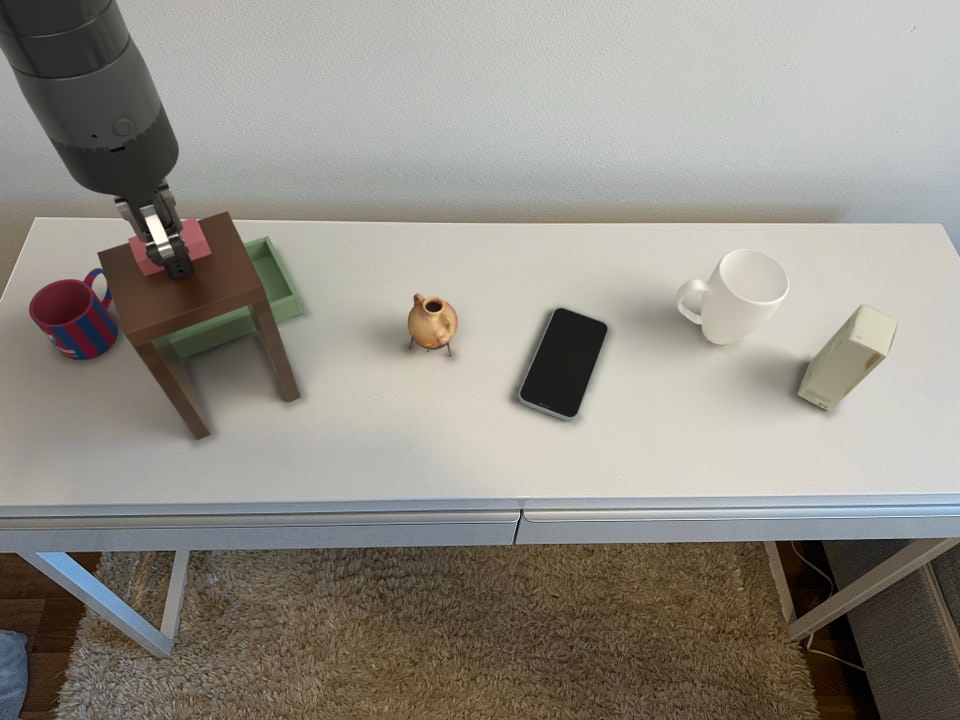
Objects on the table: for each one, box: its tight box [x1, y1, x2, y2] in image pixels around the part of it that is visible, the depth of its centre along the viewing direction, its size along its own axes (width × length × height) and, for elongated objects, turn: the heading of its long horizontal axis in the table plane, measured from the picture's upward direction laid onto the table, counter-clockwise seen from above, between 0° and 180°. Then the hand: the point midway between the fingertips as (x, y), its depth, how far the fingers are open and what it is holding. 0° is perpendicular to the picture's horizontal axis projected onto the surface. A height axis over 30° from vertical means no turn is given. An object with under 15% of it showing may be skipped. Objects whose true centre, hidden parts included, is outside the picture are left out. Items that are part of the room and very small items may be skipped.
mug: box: [674, 248, 790, 346], centre depth 82 cm, size 12×8×11 cm
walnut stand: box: [96, 210, 302, 441], centre depth 69 cm, size 12×10×21 cm
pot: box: [407, 293, 459, 358], centre depth 80 cm, size 6×8×6 cm
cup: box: [28, 267, 118, 361], centre depth 78 cm, size 7×10×7 cm
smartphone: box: [517, 306, 610, 422], centre depth 82 cm, size 7×1×15 cm
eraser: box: [127, 216, 211, 276], centre depth 61 cm, size 6×3×2 cm, turn 119°
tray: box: [166, 235, 304, 360], centre depth 83 cm, size 16×11×4 cm
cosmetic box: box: [797, 302, 900, 412], centre depth 78 cm, size 6×4×12 cm
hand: (181, 271), depth 59 cm, fingers closed
